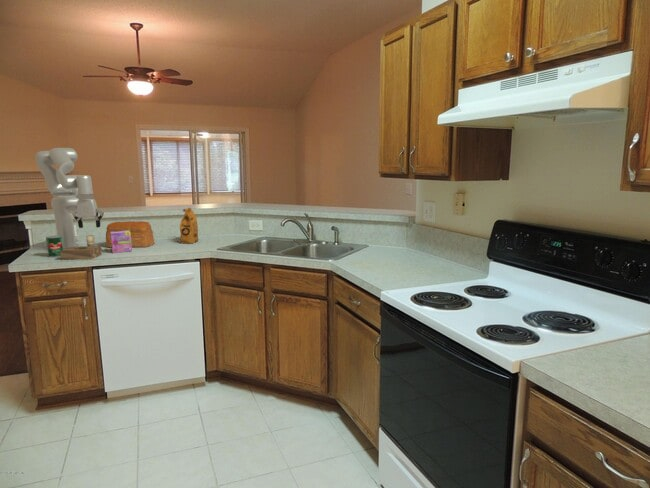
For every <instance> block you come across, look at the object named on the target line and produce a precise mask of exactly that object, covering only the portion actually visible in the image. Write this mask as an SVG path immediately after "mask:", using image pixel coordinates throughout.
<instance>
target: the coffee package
mask: <svg viewBox="0 0 650 488" xmlns="http://www.w3.org/2000/svg"><path fill="white" fill-rule="evenodd" d="M182 212H184V214H183V218H182V219H181V221H180V223H179V224H180V225H179V231H180V243H181V244H182V245H183V244H184V245H185V244H186V245H187V244H188V245H190V244H195V243H197V242H198V241H199V230H198V229H199V228H198V220H197V217H196V214H195V212H194V211H193V209H192V208H191V206H189V207H188V208H184V209H183V210H182Z"/></svg>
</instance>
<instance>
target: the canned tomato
mask: <svg viewBox="0 0 650 488" xmlns="http://www.w3.org/2000/svg"><path fill="white" fill-rule="evenodd" d="M45 240H46V241H45V242H46V249H47V257H48V258H58V257H60V258H61V253H60V251H61V250H64V248H63V240H62V236H61V235H57V234H56V235H48V236H46V237H45Z"/></svg>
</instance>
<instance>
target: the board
mask: <svg viewBox="0 0 650 488" xmlns="http://www.w3.org/2000/svg"><path fill="white" fill-rule="evenodd" d="M60 253H61V256H60V261H61V260H62V261H72V260H73V261H74V260H76V261H77V260H79V261H80V260H81V261H82V260H83V261H84V260H93V259H96V258H98V257H99V256H102V255H103V254H102V246H100V245H95V246H87V245H86V246H85V245H82V246H81V245H79V246H74V247H69V248H67V249H64V250H61V251H60Z"/></svg>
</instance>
